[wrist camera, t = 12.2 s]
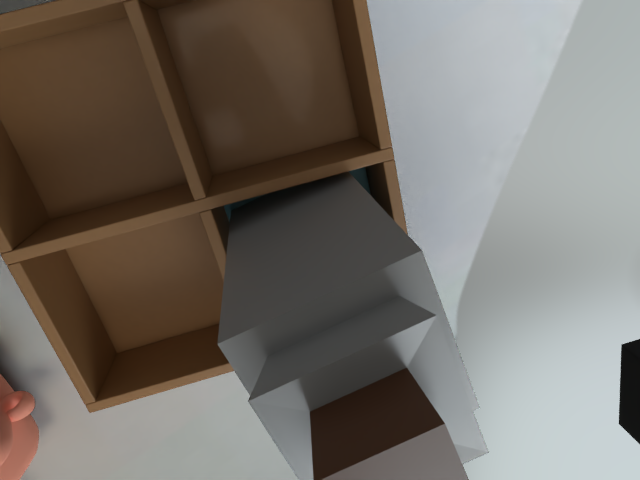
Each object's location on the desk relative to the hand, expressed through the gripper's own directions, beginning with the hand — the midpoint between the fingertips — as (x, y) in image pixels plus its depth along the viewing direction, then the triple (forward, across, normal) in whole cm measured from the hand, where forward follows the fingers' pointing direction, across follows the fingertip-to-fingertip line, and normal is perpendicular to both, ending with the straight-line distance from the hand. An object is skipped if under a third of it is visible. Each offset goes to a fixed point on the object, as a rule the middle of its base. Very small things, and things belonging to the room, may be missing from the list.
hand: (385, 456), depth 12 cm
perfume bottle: (+17, 0, 0) cm, 17 cm away
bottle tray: (+18, -4, +4) cm, 19 cm away
